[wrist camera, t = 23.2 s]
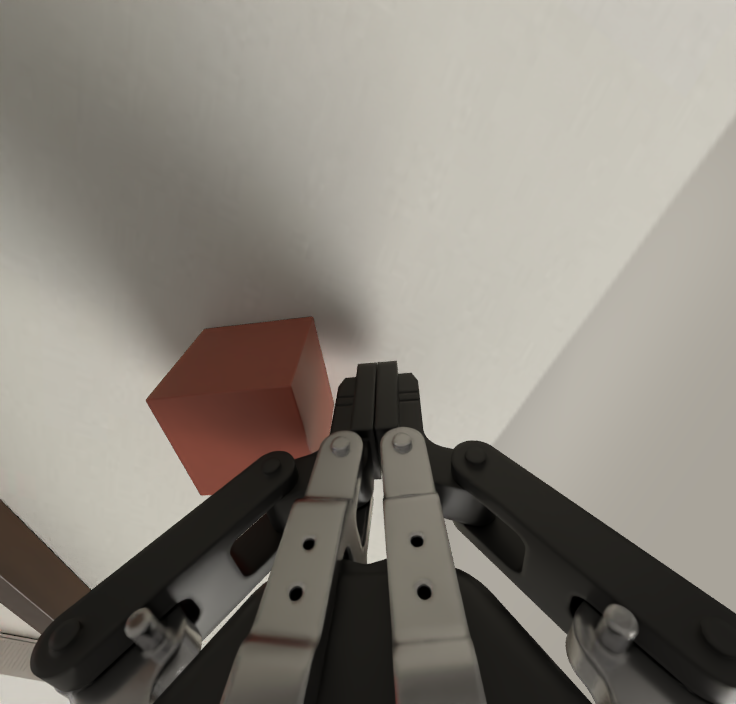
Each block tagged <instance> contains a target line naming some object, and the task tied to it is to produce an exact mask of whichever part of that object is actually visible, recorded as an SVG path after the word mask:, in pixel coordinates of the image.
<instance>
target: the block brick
mask: <svg viewBox="0 0 736 704" xmlns="http://www.w3.org/2000/svg"><path fill="white" fill-rule="evenodd" d="M146 402H147V404H148V406H149V407H150V409H151V411H152V412H153V414H154V416H155V418H156V419H157V421H158V423H159V424H160V426H161V428H162V430H163V431H164V433H165V435H166V437H167V438H168V440H169V442H170V443H171V445H172V447H173V449H174V450H175V452H176V454H177V455H178V457H179V459H180V461H181V462H182V464H183V466H184V468H185V469H186V471H187V473H188V474H189V476H190V478H191V480H192V481H193V483H194V485H195V486H196V488H197V490H198V492H199V493H200V495H213V494H214V493H215V492H217V491H218V490H219V489H220V488H222V487H223V486H224V485H226V484H227V483H228V482H229V481H231V480H232V479H233V478H234V477H236V476H237V475H238V474H239V473H241V472H242V471H243V470H245V469H246V468H247V467H248V466H250V465H251V464H252V463H253V462H255V461H256V460H257V459H259V458H260V457H261V456H263V455H265V454H267V453H269V452H273V451H285V452H288V453H290V454H291V455H292V456H293V458H294V459H297V458H300V457H303V456H306V455H309V454H312V453H314V452H316V451H317V450H319V447H320V444H321V443H322V441H323V440H324V439H325V438H326V437H327V436H329V435H330V428H331V421H332V415H333V408H334V402H333V397H332V393H331V389H330V385H329V381H328V377H327V372H326V368H325V364H324V360H323V356H322V351H321V347H320V343H319V339H318V335H317V331H316V326H315V322H314V318H313V317H303V318H295V319H286V320H278V321H269V322H260V323H252V324H243V325H235V326H226V327H217V328H209V329H204V330H203V331H202V332H201V334H200V335H199V336H198V337H197V338H196V340H195V341H194V342H193V343H192V344H191V346H190V347H189V348H188V349H187V350H186V352H185V353H184V354H183V355H182V356H181V358H180V359H179V360H178V361H177V363H176V364H175V365H174V366H173V367H172V369H171V370H170V371H169V372H168V373H167V375H166V376H165V377H164V378H163V379H162V381H161V382H160V383H159V384H158V386H157V387H156V388H155V389H154V390H153V392H152V393H151V394H150V395H149V396H148V398H147V399H146Z"/></svg>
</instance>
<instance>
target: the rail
mask: <svg viewBox="0 0 736 704" xmlns="http://www.w3.org/2000/svg"><path fill="white" fill-rule="evenodd" d="M90 591H91V590H90V589H89V588H88V587H87V586H86V585H85V584H84V583H83V582H82V581H81V580H80V579H79V578H78V577H77V576H76V575H75V574H74V573H73V572H72V571H71V570H70V569H69V568H68V567H67V566H66V565H65V564H64V563H63V562H62V561H61V560H60V559H59V558H58V557H57V556H56V555H55V554H54V553H53V552H52V551H51V550H50V549H49V548H48V547H47V546H46V545H45V544H44V543H43V542H42V541H41V540H40V539H39V538H38V537H37V536H36V535H35V534H34V533H33V532H32V531H31V530H30V529H29V528H28V527H27V526H26V525H25V524H24V523H23V522H22V521H21V520H20V519H19V518H18V517H17V516H16V515H15V514H14V513H13V512H12V511H11V510H10V509H9V508H8V507H7V506H6V505H5V504H4V503H3V502H2V501H1V500H0V603H1V604H3V605H4V606H5V607H7V608H8V609H9V610H10V611H12V612H13V613H14V614H16V615H17V616H18V617H20V618H21V619H22V620H23V621H25V622H26V623H27V624H29V625H30V626H31V627H33V628H34V629H35V630H36V631H38V632H39V633H40V634H42V633H43V632H44V631H45V629H46V628H47V627H48V626H49V625H50V624H51V623H52V622H53V621H54V620H55V619H56V618H57V617H58V616H59V615H61V614H62V613H63V612H64V611H66V610H67V609H68V608H69V607H71V606H72V605H73V604H75V603H76V602H77V601H78V600H80V599H81V598H82V597H83V596H85V595H86V594H87V593H89V592H90Z"/></svg>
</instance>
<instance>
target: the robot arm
mask: <svg viewBox="0 0 736 704" xmlns="http://www.w3.org/2000/svg"><path fill="white" fill-rule="evenodd" d="M381 475H382V479H383V492H384V498H383V512H384V526H385V541H386V555H387V559H384V560H381V561H378V562H374V563H371V564H367V549H368V541H369V533H370V525H371V517H372V509H373V500H374V499H373V490H374V479H381ZM259 518H260V519H259ZM444 518H446V519H449V520H453V523H454V525H455V526H456V527H457V529H458V530H459V531H460V532H462V534H463V535H464V536H466V537H467V538H468V539H469V540H470V541H471V542H472V543H473V544H474V545H475V546H476V547H477V548H478V549H479V550H480V551H481V552H482V553H483V554H484V555H485V556H486V557H487V558H488V559H489V560H490V561H491V562H493V563H494V564H495V565H496V566H497V567H498V568H499V569H500V570H501V571H502V572H503V573H504V574H505V575H506V576H507V577H508V578H509V579H510V580H511V581H512V582H513V583H514V584H515V585H516V586H517V587H518V588H519V589H520V590H522V591H523V592H524V593H525V594H526V595H527V596H528V597H529V598H530V599H531V600H532V601H533V602H534V603H535V604H536V605H537V606H538V607H539V608H540V609H541V610H542V611H543V612H544V613H545V614H546V615H548V617H550V618H551V619H552V620H553V621H554V622H555V623H556V624H557V625H558V626H559V627H560V628H561V629H562V630H563V631H564V632H565V633H566V634H567V637H566V652H567V656H568V659H569V662H570V664H571V666H572V668H573V670H574V671H575V673H576V675H577V676H578V677H579V678H580V680H581V681H582V682H583V683H584V684H585V686H586V687H587V689H588V690H589V692H590V693H591V695H592V697H593V699H594V701H595V703H596V704H736V614H735V613H734V612H732V611H731V610H730V609H728V608H727V607H725V606H724V605H722V604H721V603H720V602H718V601H717V600H715V599H714V598H712V597H711V596H709V595H708V594H706V593H705V592H703V591H702V590H701V589H699V588H698V587H696V586H695V585H693V584H692V583H690V582H689V581H687V580H686V579H685V578H683V577H682V576H680V575H679V574H677V573H676V572H674V571H673V570H671V569H670V568H669V567H667V566H666V565H664V564H663V563H661V562H660V561H658V560H657V559H655V558H654V557H652V556H651V555H649V554H648V553H647V552H645V551H644V550H642V549H641V548H639V547H638V546H636V545H635V544H634V543H632V542H631V541H629V540H628V539H626V538H625V537H623V536H622V535H620V534H619V533H618V532H616V531H615V530H613V529H612V528H610V527H609V526H607V525H606V524H604V523H603V522H602V521H600V520H599V519H597V518H596V517H594V516H593V515H591V514H590V513H588V512H587V511H585V510H584V509H583V508H581V507H580V506H578V505H577V504H575V503H574V502H572V501H571V500H569V499H568V498H567V497H565V496H563V495H562V494H561V493H559V492H558V491H556V490H555V489H553V488H552V487H550V486H549V485H548V484H546V483H545V482H543V481H542V480H540V479H539V478H537V477H536V476H534V475H533V474H532V473H530V472H528V471H527V470H526V469H524V468H523V467H521V466H520V465H518V464H517V463H515V462H514V461H513V460H511V459H510V458H508V457H507V456H505V455H504V454H502V453H501V452H500V451H498V450H497V449H495V448H494V447H492V446H491V445H489V444H487V443H484V442H481V441H466V442H463V443H460V444H459V445H457V446H456V447H455V448H454V449H450V448H446V447H442V446H439V445H436V444H434V443H433V442H431V441H430V440H429V439H428V438H427V437H426V435H425V434H424V431H423V423H422V414H421V405H420V395H419V386H418V380H417V379H416V378H415V377H414V375H413V374H412V373H403V374H398V367H397V361H389V362H378V365H377V363H365V364H358V366H357V374H356V377H352V378H345V379H344V380H343V382H342V383H341V384H340V386H339V387H338V392H337V398H336V403H335V408H334V414H333V419H332V425H331V430H330V435H329V436H327V437H326V438H325V439H324V440H323V441H322V443H321V444H320V447H319V450H317V451H316V452H314V453H312V454H309V455H306V456H303V457H300V458H297V459H294V458H293V456H292V455H291V454H290V453H288V452H285V451H273V452H269V453H267V454H265V455H263V456H261V457H260V458H259V459H257V460H256V461H255V462H253V463H252V464H251V465H250V466H248V467H247V468H246V469H245V470H243V471H242V472H241V473H239V474H238V475H237V476H236V477H234V478H233V479H232V480H231V481H229V482H228V483H227V484H226V485H224V486H223V487H222V488H220V489H219V490H218V491H217V492H215V493H214V494H213V495H212V496H210V497H209V498H208V499H207V500H205V501H204V502H203V503H201V504H200V505H199V506H198V507H196V508H195V509H194V510H193V511H191V512H190V513H189V514H187V515H186V516H185V517H184V518H182V519H181V520H180V521H179V522H177V523H176V524H175V525H174V526H172V527H171V528H170V529H168V530H167V531H166V532H165V533H163V534H162V535H161V536H160V537H158V538H157V539H156V540H154V541H153V542H152V543H151V544H149V545H148V546H147V547H146V548H144V549H143V550H142V551H141V552H139V553H138V554H137V555H135V556H134V557H133V558H132V559H130V560H129V561H128V562H127V563H125V564H124V565H123V566H122V567H120V568H119V569H118V570H116V571H115V572H114V573H113V574H111V575H110V576H109V577H108V578H106V579H105V580H104V581H102V582H101V583H100V584H99V585H97V586H96V587H95V588H94V589H92V590H91V591H90V592H89V593H87V594H86V595H85V596H83V597H82V598H81V599H80V600H78V601H77V602H76V603H75V604H73V605H72V606H71V607H69V608H68V609H67V610H66V611H64V612H63V613H62V614H61V615H59V616H58V617H57V618H56V619H55V620H54V621H53V622H52V623H51V624H50V625H49V626H48V627H47V628H46V629H45V631H44V632H43V633H42V635H41V636H40V637H39V639H38V641H37V642H36V644H35V646H34V648H33V651H32V654H31V658H30V669H31V671H32V673H33V674H34V675H35V676H36V677H38V678H40V679H41V680H43V681H45V682H46V683H48V684H50V685H51V686H53V687H54V689H55V690H56V691H57V692H58V693H59V694H61V695H63V696H64V697H66V698H68V699H69V702H70V704H592V703H591V702H590V701H589V700H588V699H587V697H586V696H585V695H584V694H583V693H582V692H581V691H580V690H579V689H578V688H577V687H576V685H575V684H574V683H573V682H572V681H571V680H570V679H569V678H568V677H567V675H566V674H565V673H564V672H563V671H562V670H561V669H560V668H559V667H558V666H557V664H555V662H554V661H553V660H552V659H551V658H550V657H549V656H548V654H547V653H546V652H545V651H544V650H543V649H542V648H541V647H540V646H539V645H538V644H537V642H536V641H535V640H534V639H533V638H532V637H531V636H530V635H529V633H528V632H527V631H526V630H525V629H524V628H523V627H522V626H521V625H520V624H519V623H518V621H517V620H516V619H515V618H514V617H513V616H512V615H511V614H510V612H509V611H508V610H507V609H506V608H505V607H504V606H503V605H502V604H501V603H500V602H499V600H498V599H497V598H496V597H495V596H494V595H493V594H492V593H491V592H490V591H489V590H488V588H486V587H485V586H484V585H483V584H482V583H481V582H479V581H478V580H477V579H475V578H474V577H472V576H471V575H469V574H467V573H466V572H464V571H462V570H460V569H457V568H455V566H454V562H453V557H452V552H451V548H450V543H449V539H448V534H447V530H446V525H445V521H444ZM258 519H259V520H258ZM257 520H258V521H257ZM256 521H257V522H256ZM248 528H249V529H248ZM247 529H248V530H247ZM246 530H247V531H246ZM245 531H246V532H245ZM238 537H239V538H238ZM237 538H238V539H237ZM236 539H237V540H236ZM270 571H271V572H270ZM269 572H270V575H269V578H268V581H267V582H266V583H264V584H263V585H262V586H261V587H259V588H258V589H257V590H256V591H255V592H254V593H253V594H252V595H251V596H250V597H249V598H248V599H247V601H246V602H245V603H244V604H243V605H242V606H241V607H240V608H239V609H238V610H237V612H236V613H235V614H234V615H233V616H232V617H231V618H230V619H229V620H228V621H227V623H226V624H225V625H224V626H223V627H222V628H221V629H220V630H219V631H218V632H217V634H216V635H215V636H214V637H213V638H212V639H211V640H210V641H209V642H208V643H207V644H206V646H205V647H204V648H203V649H202V650H201V645H202V641H203V640H204V639H205V638H206V637H207V636H208V635H209V634H210V633H211V632H212V631H213V630H214V629H215V628H216V627H217V626H218V625H219V623H220V622H221V621H222V620H223V619H224V618H225V617H226V616H227V615H228V614H229V613H230V612H231V611H232V610H233V609H234V608H235V607H236V606H237V605H238V604H239V603H240V602H241V601H242V600H243V599H244V598H245V597H246V596H247V595H248V594H249V593H250V592H251V591H252V589H253V588H254V587H255V586H256V585H257V584H258V583H259V582H260V581H261V580H262V579H263V578H264V577H265V576H266V575H267V574H268V573H269Z"/></svg>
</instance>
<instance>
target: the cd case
mask: <svg viewBox="0 0 736 704" xmlns="http://www.w3.org/2000/svg"><path fill="white" fill-rule="evenodd" d="M37 641H38V640H34V639H28V638H23V637H17V636H12V635H6V634H1V633H0V704H70V702H69V699H68V698H66V697H64V696H63V695H61V694H59V693H58V692H57V691H56V690H55V689H54V687H53V686H51V685H50V684H48V683H46V682H45V681H43V680H41V679H40V678H38V677H36V676H35V675H34V674H33V673H32V671H31V669H30V658H31V654H32V651H33V648H34V646H35V644H36V642H37Z"/></svg>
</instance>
